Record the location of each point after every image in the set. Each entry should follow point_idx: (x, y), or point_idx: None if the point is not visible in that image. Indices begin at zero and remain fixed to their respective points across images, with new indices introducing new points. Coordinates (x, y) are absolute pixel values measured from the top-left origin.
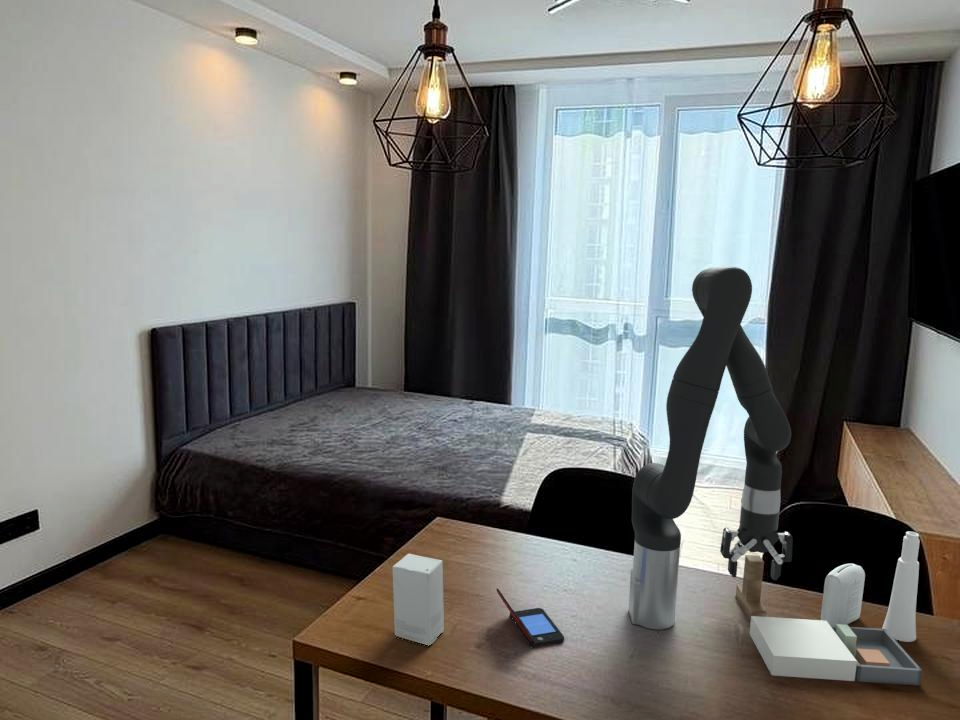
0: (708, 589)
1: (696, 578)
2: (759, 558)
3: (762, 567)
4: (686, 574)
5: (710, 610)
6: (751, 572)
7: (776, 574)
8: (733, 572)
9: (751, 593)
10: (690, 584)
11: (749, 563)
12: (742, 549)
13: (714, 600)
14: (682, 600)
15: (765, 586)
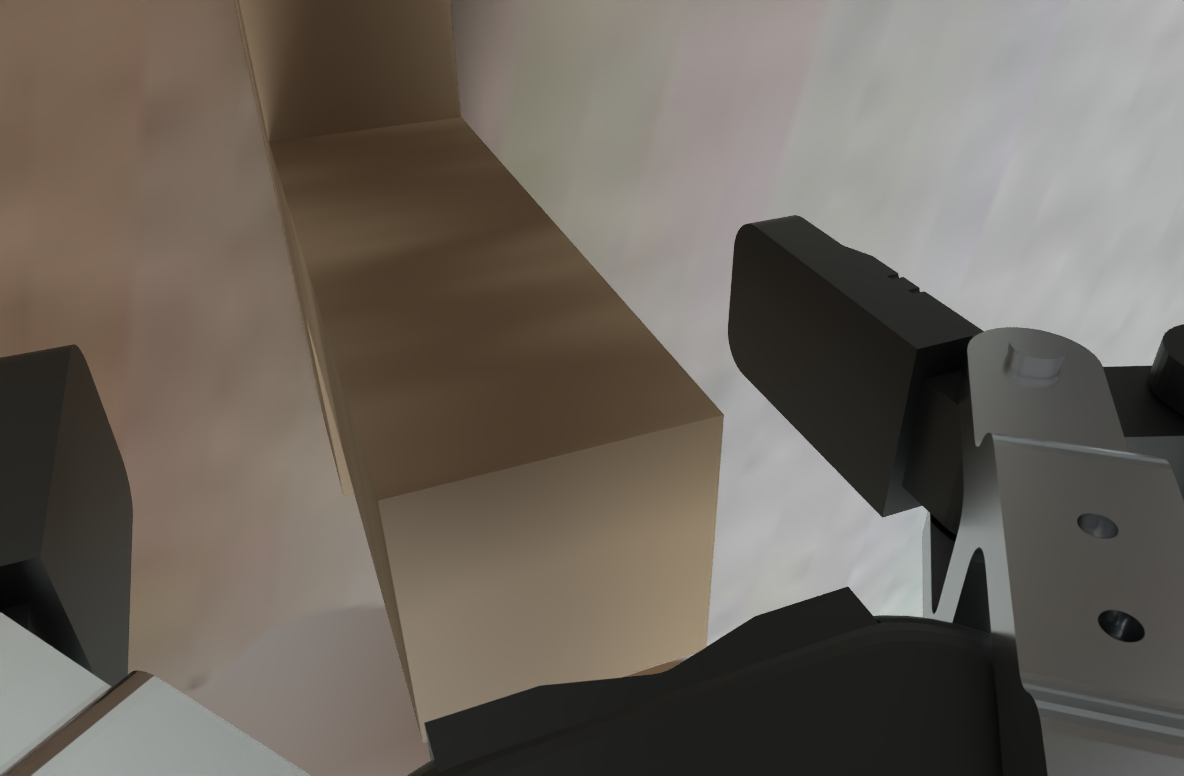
0: None
1: (714, 548)
2: (453, 627)
3: (374, 408)
4: (767, 573)
5: (761, 35)
6: (557, 299)
7: (12, 406)
8: (836, 242)
9: (419, 159)
10: (786, 446)
11: (692, 384)
12: (1158, 523)
13: (670, 247)
14: (936, 165)
15: (133, 659)
